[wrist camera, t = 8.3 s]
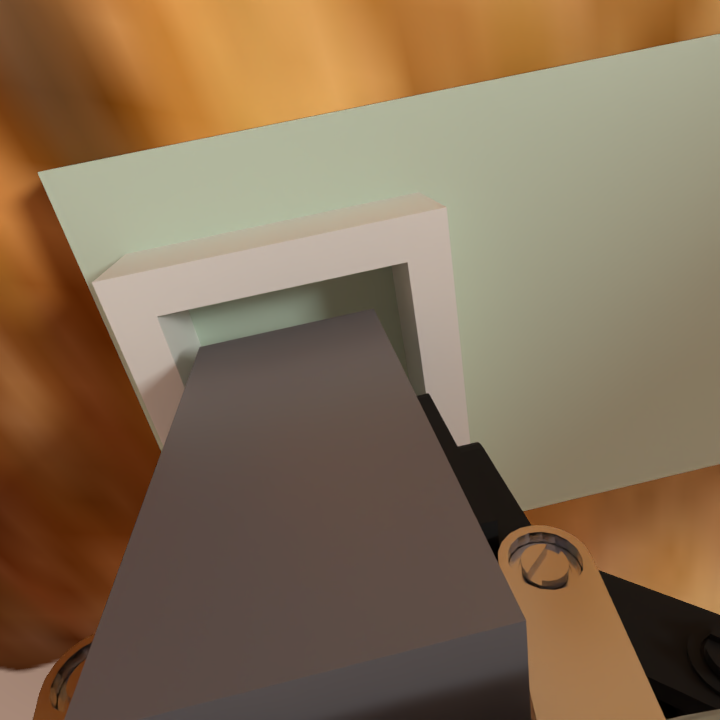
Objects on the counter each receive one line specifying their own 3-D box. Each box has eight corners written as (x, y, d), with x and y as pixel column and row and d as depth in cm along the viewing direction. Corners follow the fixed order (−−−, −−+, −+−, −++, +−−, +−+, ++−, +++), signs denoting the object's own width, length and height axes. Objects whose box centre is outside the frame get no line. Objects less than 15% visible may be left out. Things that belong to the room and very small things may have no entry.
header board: (860, 5, 14) (1059, -35, 10) (767, 422, 20) (872, 488, 17) (63, 166, 13) (-22, 184, 9) (224, 551, 19) (210, 650, 16)
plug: (373, 308, 11) (526, 619, 4) (415, 544, 15) (541, 941, 8) (199, 347, 11) (56, 739, 4) (282, 577, 15) (282, 1016, 7)
